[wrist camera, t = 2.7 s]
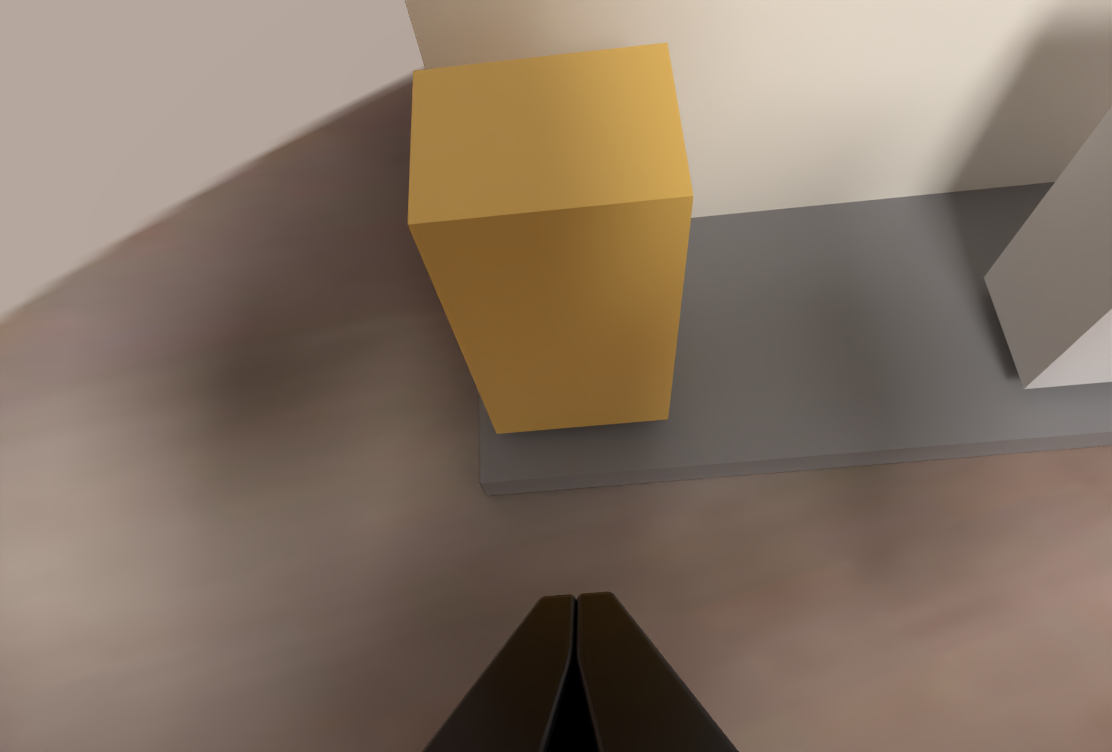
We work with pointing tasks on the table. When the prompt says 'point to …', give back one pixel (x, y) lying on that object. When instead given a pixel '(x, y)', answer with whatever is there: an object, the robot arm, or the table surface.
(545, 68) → the amber block
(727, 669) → the table surface
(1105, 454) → the table surface
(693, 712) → the robot arm
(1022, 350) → the light grey block
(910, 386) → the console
